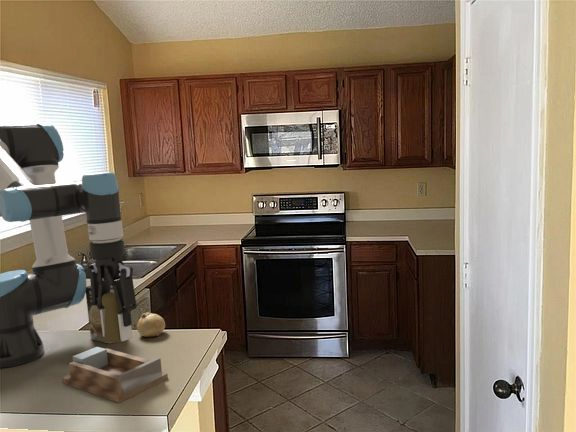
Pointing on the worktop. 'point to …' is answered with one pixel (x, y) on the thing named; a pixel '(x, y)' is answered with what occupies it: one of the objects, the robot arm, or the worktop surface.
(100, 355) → the block
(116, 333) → the cork
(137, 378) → the rail board
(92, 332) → the coffee box
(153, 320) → the onion
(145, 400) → the worktop surface
